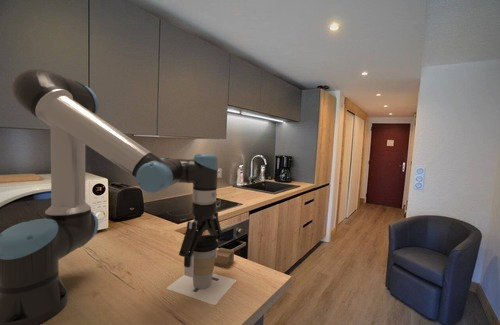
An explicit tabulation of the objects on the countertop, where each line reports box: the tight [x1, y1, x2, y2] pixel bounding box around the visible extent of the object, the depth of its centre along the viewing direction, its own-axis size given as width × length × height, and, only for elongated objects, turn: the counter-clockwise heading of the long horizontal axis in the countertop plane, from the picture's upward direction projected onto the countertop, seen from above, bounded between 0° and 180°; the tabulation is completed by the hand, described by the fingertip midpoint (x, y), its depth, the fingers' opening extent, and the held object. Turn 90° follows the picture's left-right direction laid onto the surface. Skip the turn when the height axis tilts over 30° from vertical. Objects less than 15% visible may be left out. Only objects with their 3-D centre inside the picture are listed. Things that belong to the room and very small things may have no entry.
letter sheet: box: [165, 272, 237, 306], centre depth 76 cm, size 14×18×1 cm
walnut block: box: [214, 247, 235, 270], centre depth 90 cm, size 6×6×5 cm
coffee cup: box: [192, 234, 219, 289], centre depth 76 cm, size 9×9×15 cm
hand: (201, 265), depth 76 cm, fingers open, 13 cm apart
